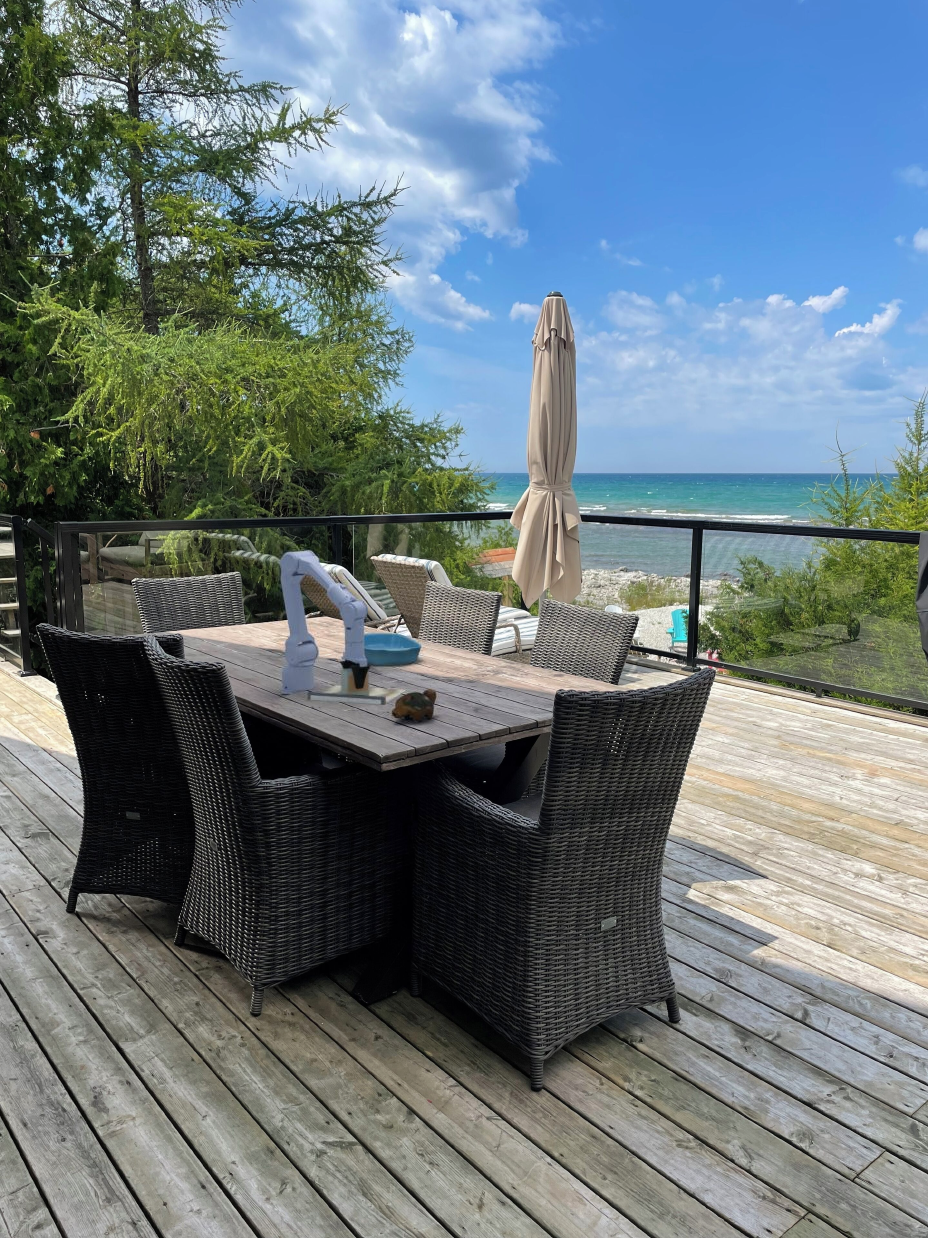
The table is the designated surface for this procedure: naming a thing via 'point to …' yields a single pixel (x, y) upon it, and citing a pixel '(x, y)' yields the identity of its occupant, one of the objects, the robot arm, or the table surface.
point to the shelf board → (371, 692)
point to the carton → (353, 683)
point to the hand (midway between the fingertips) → (355, 686)
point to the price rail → (347, 698)
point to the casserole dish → (390, 649)
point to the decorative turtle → (415, 705)
